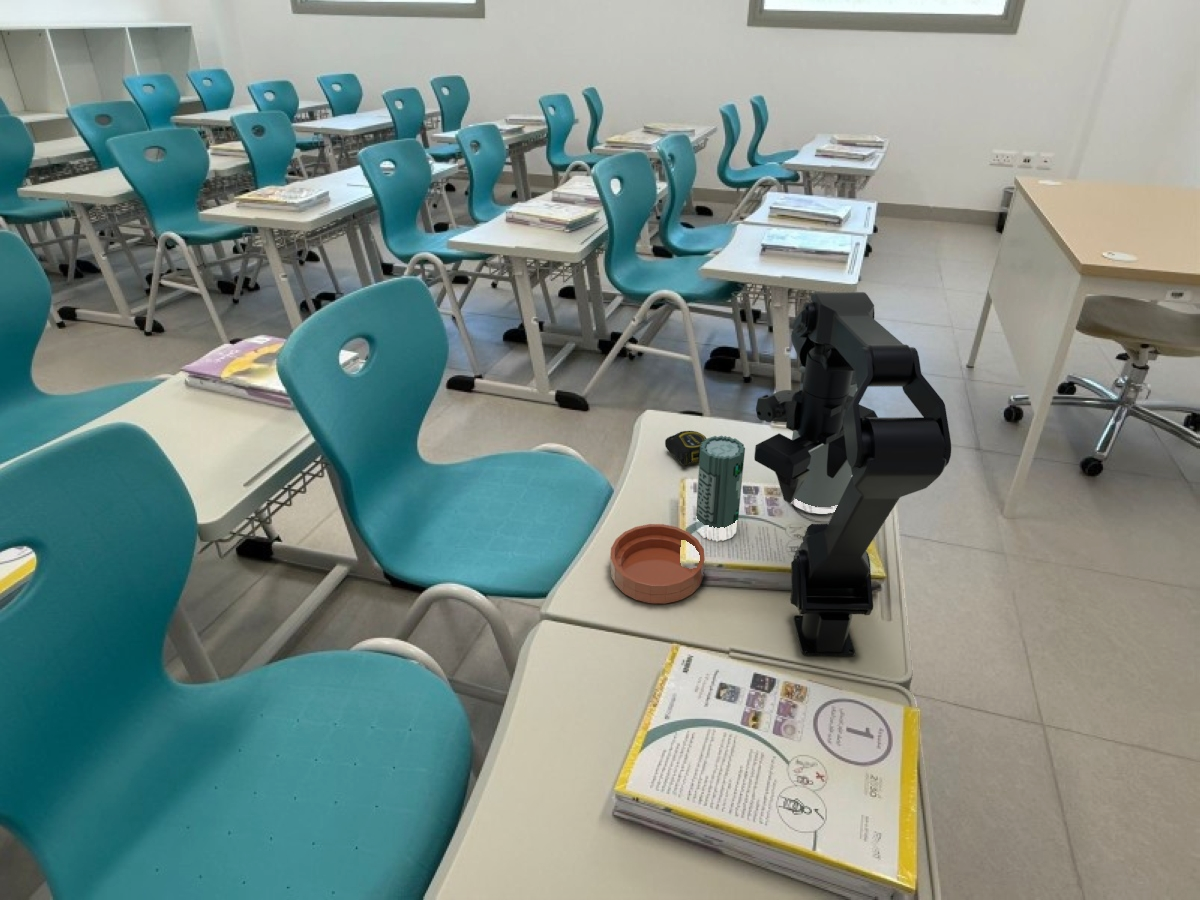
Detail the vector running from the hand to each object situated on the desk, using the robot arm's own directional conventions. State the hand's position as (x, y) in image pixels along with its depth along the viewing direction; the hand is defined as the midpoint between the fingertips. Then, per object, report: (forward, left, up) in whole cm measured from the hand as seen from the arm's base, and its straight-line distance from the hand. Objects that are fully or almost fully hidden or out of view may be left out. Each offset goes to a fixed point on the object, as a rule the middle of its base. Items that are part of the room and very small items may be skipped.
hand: (809, 488), depth 100 cm
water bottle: (+14, -5, -12) cm, 19 cm away
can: (+6, +11, -12) cm, 18 cm away
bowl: (-4, +21, -12) cm, 25 cm away
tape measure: (+26, +15, -12) cm, 32 cm away
